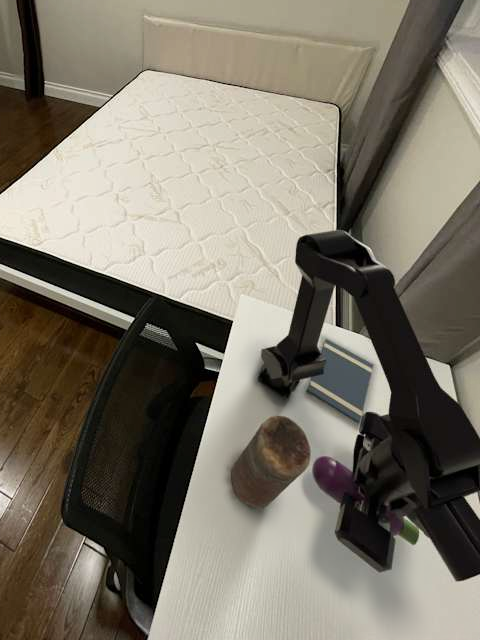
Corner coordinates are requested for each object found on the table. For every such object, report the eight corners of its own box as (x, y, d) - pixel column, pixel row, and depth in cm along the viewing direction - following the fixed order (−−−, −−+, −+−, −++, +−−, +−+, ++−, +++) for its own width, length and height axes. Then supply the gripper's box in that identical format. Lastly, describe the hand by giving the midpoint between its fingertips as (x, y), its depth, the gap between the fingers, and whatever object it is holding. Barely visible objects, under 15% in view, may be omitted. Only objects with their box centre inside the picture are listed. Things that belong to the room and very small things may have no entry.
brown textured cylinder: (276, 467, 65) (312, 425, 53) (274, 518, 60) (312, 485, 47) (233, 450, 67) (258, 406, 54) (227, 498, 62) (252, 461, 49)
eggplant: (304, 483, 60) (314, 474, 57) (313, 454, 63) (322, 444, 60) (404, 558, 53) (422, 552, 50) (409, 521, 57) (425, 514, 53)
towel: (306, 391, 75) (307, 389, 75) (325, 339, 84) (326, 338, 84) (358, 423, 71) (360, 422, 71) (372, 365, 80) (373, 364, 79)
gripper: (470, 608, 39) (400, 614, 48) (473, 442, 50) (417, 475, 60) (357, 524, 43) (315, 545, 53) (384, 391, 55) (346, 429, 65)
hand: (352, 496), depth 58 cm, fingers closed on eggplant, 5 cm apart
